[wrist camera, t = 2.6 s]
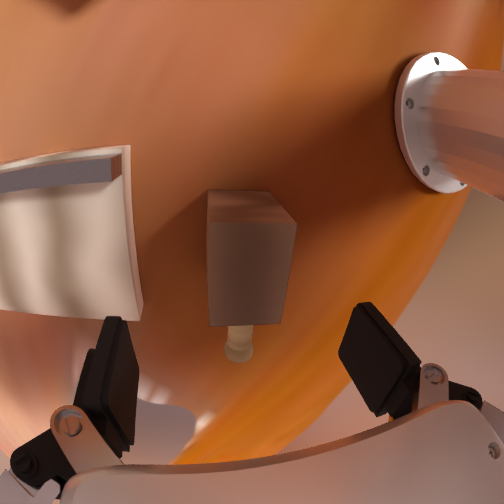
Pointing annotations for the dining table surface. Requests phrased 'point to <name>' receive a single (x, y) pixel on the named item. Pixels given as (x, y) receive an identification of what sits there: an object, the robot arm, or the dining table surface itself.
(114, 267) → the board
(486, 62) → the dining table surface
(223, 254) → the brown block with stick
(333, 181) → the dining table surface
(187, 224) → the dining table surface
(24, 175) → the rail
